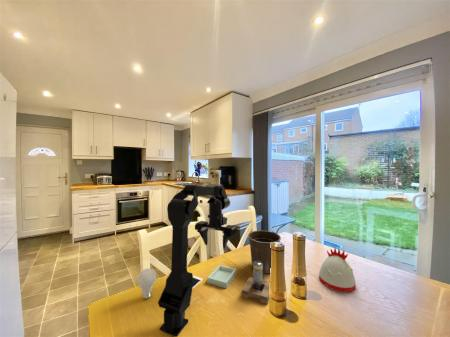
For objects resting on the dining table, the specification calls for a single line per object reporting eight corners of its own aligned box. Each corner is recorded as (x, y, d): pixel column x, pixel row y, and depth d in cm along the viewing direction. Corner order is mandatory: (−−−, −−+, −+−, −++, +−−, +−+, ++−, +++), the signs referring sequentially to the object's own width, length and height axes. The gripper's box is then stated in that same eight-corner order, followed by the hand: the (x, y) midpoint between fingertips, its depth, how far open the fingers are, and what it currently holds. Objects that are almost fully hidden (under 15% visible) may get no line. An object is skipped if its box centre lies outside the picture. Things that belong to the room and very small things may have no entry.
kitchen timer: (354, 296, 76) (354, 258, 76) (316, 283, 84) (316, 249, 84) (356, 279, 87) (356, 246, 87) (322, 269, 95) (323, 239, 95)
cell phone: (163, 295, 76) (163, 294, 76) (189, 275, 90) (189, 274, 90) (179, 302, 73) (179, 300, 73) (203, 280, 87) (203, 278, 87)
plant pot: (275, 280, 86) (275, 244, 86) (242, 270, 94) (242, 237, 94) (284, 264, 100) (284, 233, 100) (254, 257, 108) (254, 228, 108)
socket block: (267, 304, 71) (267, 297, 71) (241, 296, 75) (241, 290, 75) (272, 288, 80) (272, 282, 80) (249, 282, 84) (249, 276, 84)
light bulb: (150, 290, 79) (150, 263, 79) (159, 297, 75) (159, 269, 75) (134, 298, 74) (134, 270, 74) (142, 306, 70) (142, 276, 69)
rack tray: (226, 288, 80) (226, 282, 80) (207, 283, 84) (207, 277, 84) (236, 273, 91) (236, 268, 91) (219, 269, 95) (219, 264, 95)
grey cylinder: (261, 296, 75) (261, 266, 75) (251, 293, 77) (252, 264, 77) (263, 291, 79) (263, 261, 79) (254, 288, 80) (254, 259, 80)
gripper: (241, 210, 90) (241, 244, 90) (206, 206, 98) (206, 237, 98) (231, 216, 80) (231, 253, 80) (194, 211, 88) (194, 245, 88)
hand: (215, 246), depth 87 cm, fingers open, 9 cm apart
